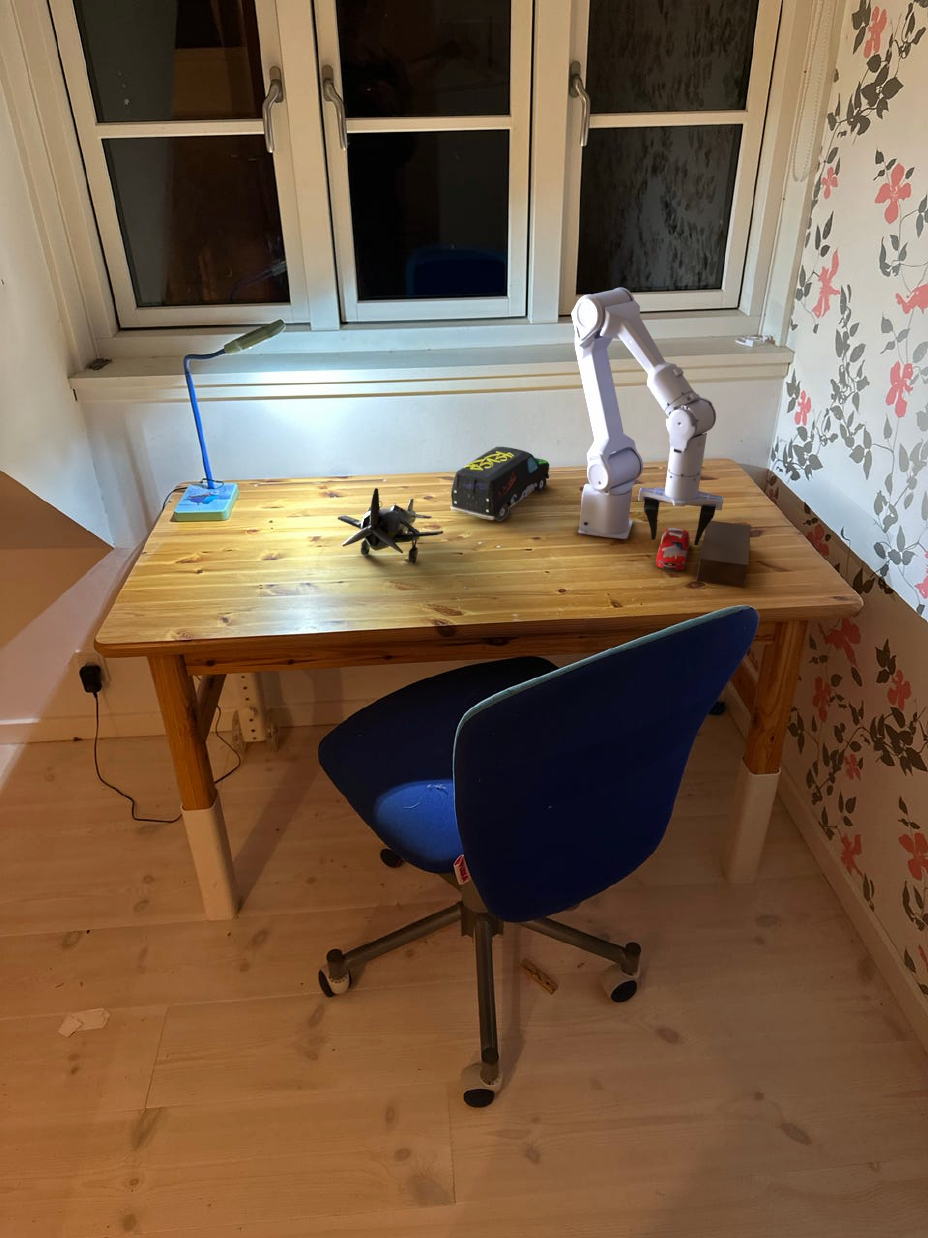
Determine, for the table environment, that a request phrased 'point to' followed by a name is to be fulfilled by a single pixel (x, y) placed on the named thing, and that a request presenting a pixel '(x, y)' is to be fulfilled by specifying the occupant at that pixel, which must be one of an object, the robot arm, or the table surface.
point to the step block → (725, 554)
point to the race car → (673, 549)
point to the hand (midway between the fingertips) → (674, 540)
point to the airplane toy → (387, 528)
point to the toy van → (497, 482)
